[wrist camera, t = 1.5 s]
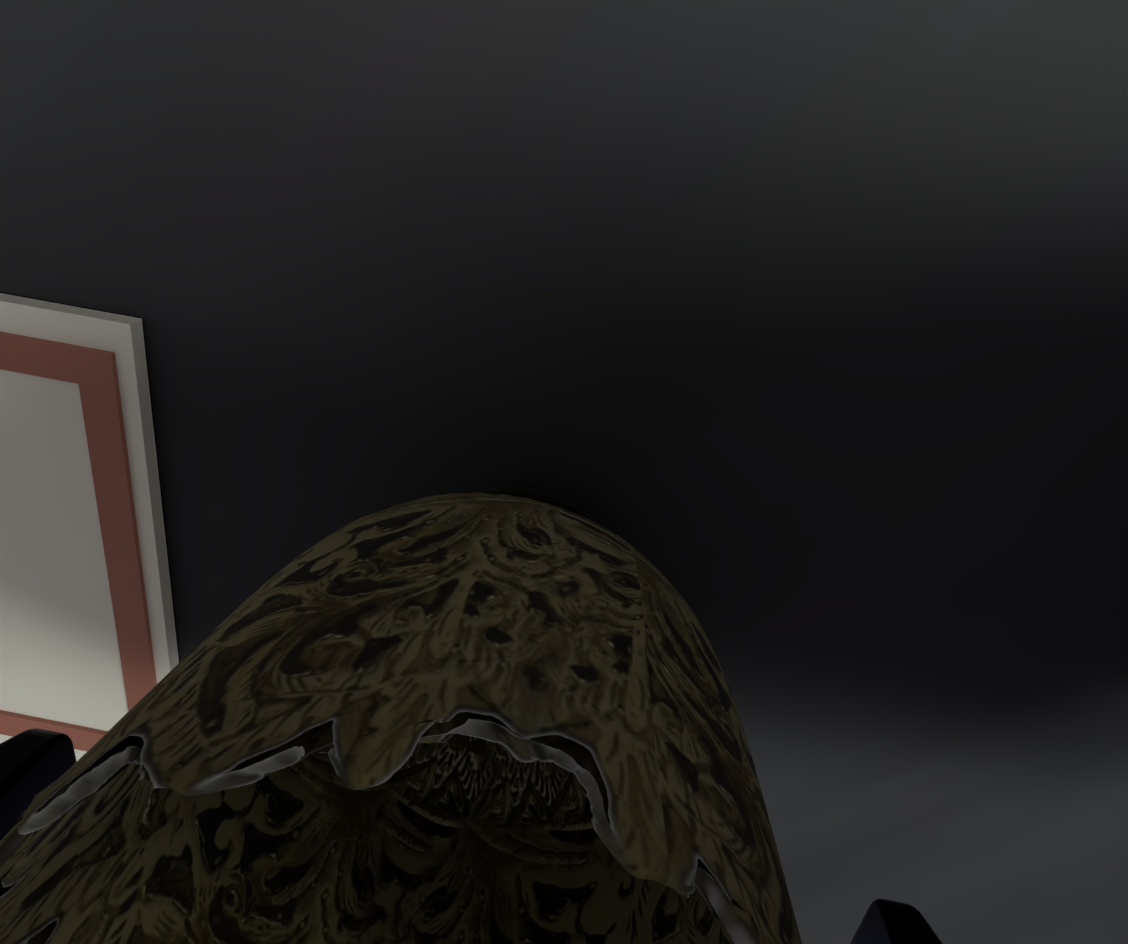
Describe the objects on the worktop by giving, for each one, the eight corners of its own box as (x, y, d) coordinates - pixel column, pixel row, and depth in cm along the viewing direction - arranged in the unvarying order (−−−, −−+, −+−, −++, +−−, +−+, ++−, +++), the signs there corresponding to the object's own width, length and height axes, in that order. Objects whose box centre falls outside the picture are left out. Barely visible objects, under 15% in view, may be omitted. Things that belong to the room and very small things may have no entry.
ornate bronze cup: (840, 481, 12) (1076, 1061, 5) (631, 779, 16) (602, 1374, 9) (383, 275, 12) (-60, 621, 4) (270, 633, 15) (-84, 1148, 8)
